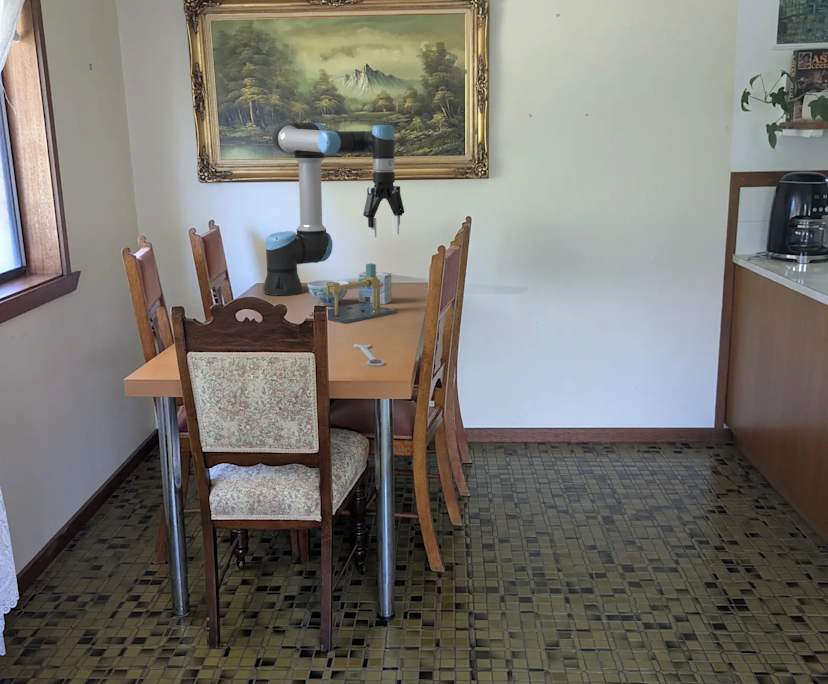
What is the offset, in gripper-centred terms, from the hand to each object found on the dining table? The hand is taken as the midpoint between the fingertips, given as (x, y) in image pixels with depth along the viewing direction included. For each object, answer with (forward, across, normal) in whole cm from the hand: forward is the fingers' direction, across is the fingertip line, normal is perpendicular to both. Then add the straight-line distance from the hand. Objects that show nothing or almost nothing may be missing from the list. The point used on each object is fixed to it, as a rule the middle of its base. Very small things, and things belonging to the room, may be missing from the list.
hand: (384, 235), depth 300 cm
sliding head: (+25, -7, 0) cm, 25 cm away
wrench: (+27, -50, -45) cm, 72 cm away
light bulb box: (+26, +6, +11) cm, 29 cm away
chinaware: (+26, -9, +20) cm, 34 cm away
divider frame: (+25, -14, 0) cm, 29 cm away
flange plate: (+26, -15, 0) cm, 30 cm away
